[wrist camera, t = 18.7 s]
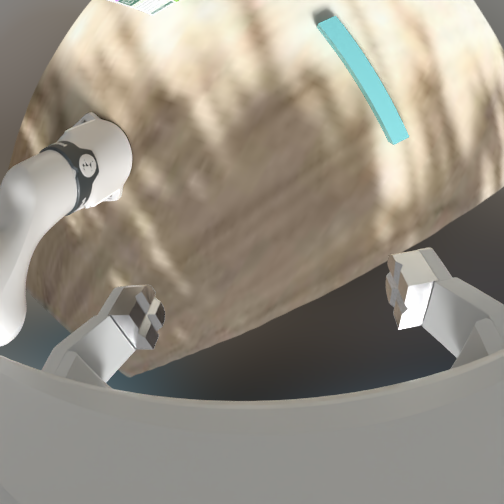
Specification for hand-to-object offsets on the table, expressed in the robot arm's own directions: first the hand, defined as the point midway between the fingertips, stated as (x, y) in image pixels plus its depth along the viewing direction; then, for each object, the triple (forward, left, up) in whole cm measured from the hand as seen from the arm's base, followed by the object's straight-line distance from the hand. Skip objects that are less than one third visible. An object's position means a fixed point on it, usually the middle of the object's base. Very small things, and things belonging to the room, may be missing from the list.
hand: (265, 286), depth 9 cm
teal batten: (+13, +7, -36) cm, 39 cm away
